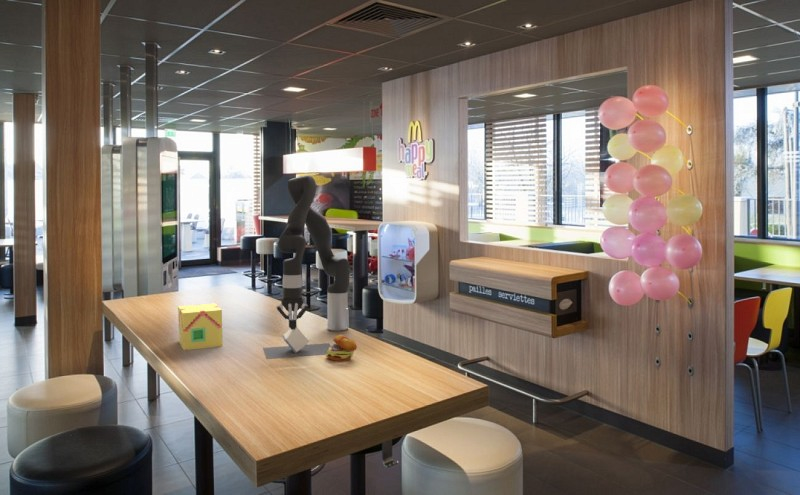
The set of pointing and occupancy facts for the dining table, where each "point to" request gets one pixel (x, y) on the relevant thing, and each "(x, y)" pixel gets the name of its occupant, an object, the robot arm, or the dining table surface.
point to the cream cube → (295, 339)
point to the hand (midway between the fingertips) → (292, 328)
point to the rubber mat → (305, 351)
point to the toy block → (200, 326)
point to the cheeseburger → (341, 349)
